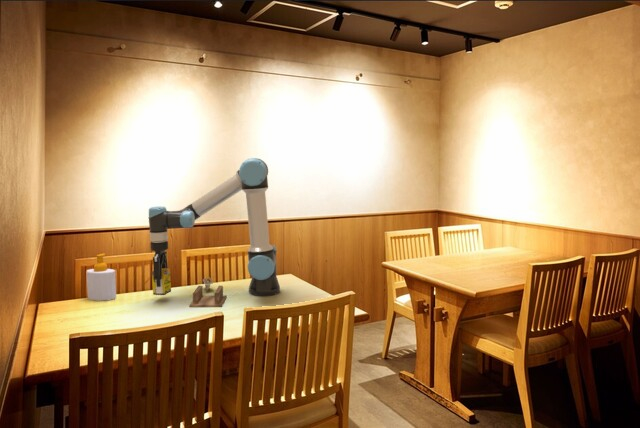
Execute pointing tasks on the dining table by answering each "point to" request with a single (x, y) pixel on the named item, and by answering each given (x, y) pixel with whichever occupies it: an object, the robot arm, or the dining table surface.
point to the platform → (207, 283)
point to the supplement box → (165, 281)
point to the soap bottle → (101, 281)
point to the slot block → (208, 298)
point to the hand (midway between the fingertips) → (162, 290)
